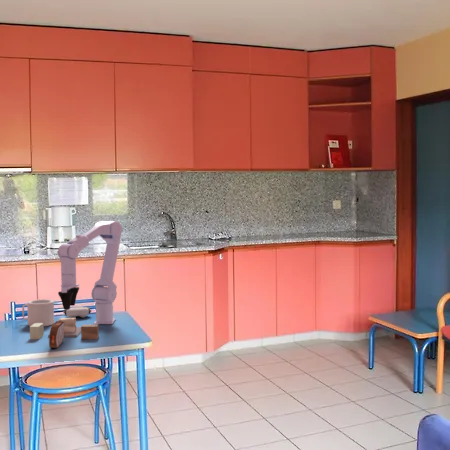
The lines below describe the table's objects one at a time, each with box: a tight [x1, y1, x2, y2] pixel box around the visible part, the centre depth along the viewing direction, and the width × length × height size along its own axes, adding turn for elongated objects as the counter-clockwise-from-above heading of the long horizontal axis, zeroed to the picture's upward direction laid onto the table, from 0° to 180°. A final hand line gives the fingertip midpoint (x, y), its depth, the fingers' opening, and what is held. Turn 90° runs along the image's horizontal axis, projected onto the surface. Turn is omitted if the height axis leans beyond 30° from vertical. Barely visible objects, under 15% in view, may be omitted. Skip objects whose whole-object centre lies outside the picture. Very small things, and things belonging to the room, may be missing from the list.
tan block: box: [58, 317, 77, 332], centre depth 232 cm, size 4×6×5 cm, turn 89°
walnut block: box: [80, 323, 100, 340], centre depth 224 cm, size 4×6×5 cm, turn 92°
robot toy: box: [62, 305, 92, 319], centre depth 264 cm, size 12×4×15 cm
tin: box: [48, 320, 65, 349], centre depth 214 cm, size 15×3×8 cm, turn 4°
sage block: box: [29, 323, 45, 340], centre depth 226 cm, size 4×6×5 cm, turn 2°
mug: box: [21, 298, 55, 327], centre depth 247 cm, size 14×11×10 cm
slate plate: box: [48, 326, 81, 338], centre depth 232 cm, size 13×11×1 cm
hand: (69, 307), depth 232 cm, fingers open, 7 cm apart
